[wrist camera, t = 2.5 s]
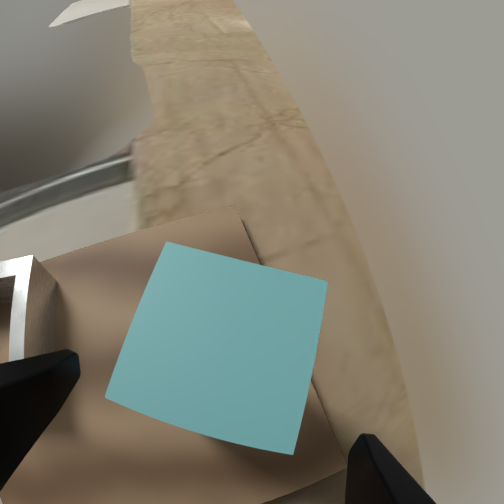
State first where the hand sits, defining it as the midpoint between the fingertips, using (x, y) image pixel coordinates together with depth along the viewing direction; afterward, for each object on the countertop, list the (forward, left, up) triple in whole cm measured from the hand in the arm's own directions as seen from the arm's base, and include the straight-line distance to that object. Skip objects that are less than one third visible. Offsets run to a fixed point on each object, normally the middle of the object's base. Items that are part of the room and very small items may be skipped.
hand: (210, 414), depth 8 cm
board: (+4, +6, -9) cm, 12 cm away
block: (+1, -1, -8) cm, 8 cm away
